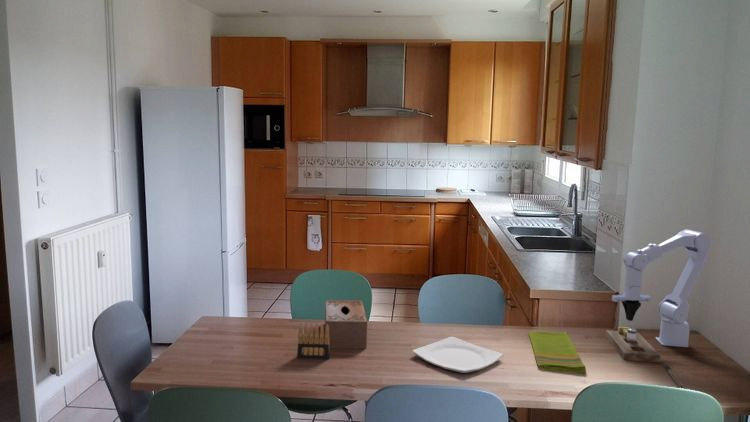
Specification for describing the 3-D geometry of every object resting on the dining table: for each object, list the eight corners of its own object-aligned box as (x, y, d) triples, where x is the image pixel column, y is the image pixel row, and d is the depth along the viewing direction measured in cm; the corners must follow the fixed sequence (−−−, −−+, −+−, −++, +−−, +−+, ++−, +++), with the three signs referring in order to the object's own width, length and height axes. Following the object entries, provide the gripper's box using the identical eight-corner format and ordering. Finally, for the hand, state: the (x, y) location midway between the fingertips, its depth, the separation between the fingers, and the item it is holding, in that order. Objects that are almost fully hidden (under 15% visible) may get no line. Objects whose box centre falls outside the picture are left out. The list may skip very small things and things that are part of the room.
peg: (633, 346, 214) (635, 328, 213) (635, 349, 211) (637, 331, 210) (624, 345, 215) (626, 327, 214) (627, 348, 212) (629, 330, 211)
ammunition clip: (329, 357, 193) (330, 322, 192) (329, 359, 192) (330, 324, 190) (297, 356, 193) (298, 321, 192) (296, 358, 191) (297, 323, 190)
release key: (628, 332, 222) (629, 327, 221) (633, 337, 217) (633, 331, 216) (617, 332, 222) (618, 326, 222) (621, 336, 217) (622, 331, 217)
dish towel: (538, 371, 189) (538, 361, 189) (527, 335, 224) (528, 327, 224) (586, 376, 187) (587, 366, 187) (568, 338, 222) (569, 330, 222)
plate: (450, 341, 214) (451, 334, 213) (507, 361, 196) (508, 354, 196) (406, 357, 196) (406, 350, 196) (464, 381, 179) (465, 372, 179)
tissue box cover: (325, 324, 227) (325, 300, 226) (361, 324, 228) (362, 300, 227) (325, 348, 201) (326, 321, 200) (366, 348, 203) (367, 321, 202)
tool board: (637, 338, 223) (638, 332, 223) (659, 362, 199) (660, 355, 199) (605, 336, 225) (606, 330, 224) (623, 359, 201) (624, 352, 201)
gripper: (644, 282, 219) (640, 316, 220) (608, 281, 217) (605, 316, 218) (655, 286, 212) (652, 322, 213) (619, 286, 210) (615, 322, 211)
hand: (629, 319), depth 215 cm, fingers closed
